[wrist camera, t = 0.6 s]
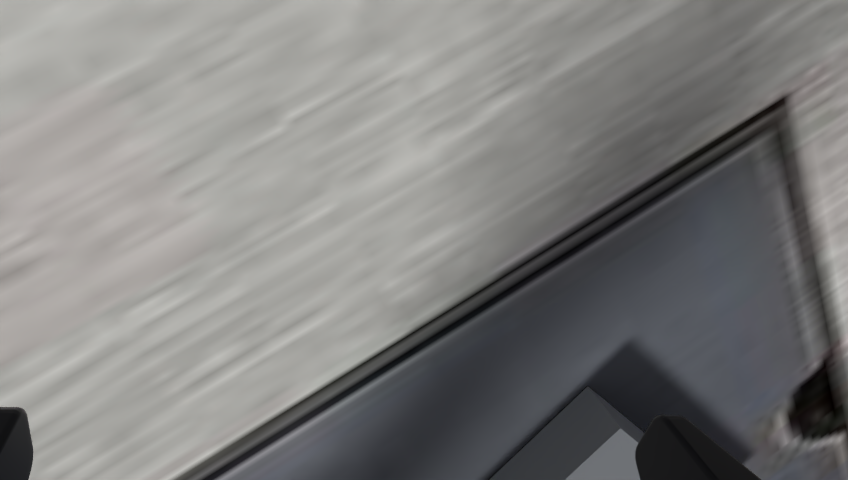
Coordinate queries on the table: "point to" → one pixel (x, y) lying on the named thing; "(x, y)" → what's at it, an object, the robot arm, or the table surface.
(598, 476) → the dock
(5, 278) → the table surface
